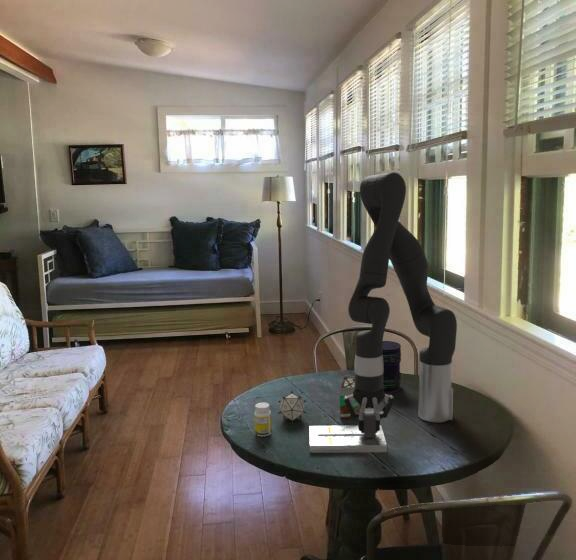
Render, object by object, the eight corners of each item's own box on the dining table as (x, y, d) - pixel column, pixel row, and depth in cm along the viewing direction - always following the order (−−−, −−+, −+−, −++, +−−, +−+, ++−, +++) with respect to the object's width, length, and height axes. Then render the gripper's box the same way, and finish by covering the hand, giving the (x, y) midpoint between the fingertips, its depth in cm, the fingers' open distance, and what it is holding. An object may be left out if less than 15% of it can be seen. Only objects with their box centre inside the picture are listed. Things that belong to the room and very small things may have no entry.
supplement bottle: (262, 428, 166) (261, 400, 165) (275, 432, 163) (274, 404, 162) (251, 434, 163) (250, 405, 161) (264, 438, 160) (263, 409, 158)
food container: (360, 422, 168) (360, 389, 166) (339, 421, 169) (339, 388, 168) (363, 406, 180) (363, 375, 178) (344, 404, 181) (343, 374, 180)
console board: (380, 431, 162) (380, 424, 161) (386, 452, 150) (386, 444, 150) (309, 432, 162) (309, 425, 162) (309, 452, 151) (309, 445, 150)
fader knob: (373, 429, 158) (373, 408, 157) (375, 437, 153) (375, 416, 152) (362, 429, 158) (362, 408, 157) (364, 437, 153) (364, 416, 152)
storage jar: (365, 389, 194) (365, 346, 191) (379, 380, 202) (379, 339, 199) (392, 395, 188) (392, 351, 186) (405, 386, 196) (406, 343, 193)
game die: (290, 428, 174) (289, 396, 179) (313, 424, 169) (312, 391, 174) (271, 423, 168) (271, 389, 172) (294, 418, 163) (294, 384, 168)
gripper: (393, 365, 156) (393, 425, 159) (341, 366, 156) (341, 426, 159) (397, 375, 148) (397, 437, 152) (343, 375, 149) (343, 438, 152)
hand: (368, 431), depth 155 cm, fingers closed on fader knob, 3 cm apart
